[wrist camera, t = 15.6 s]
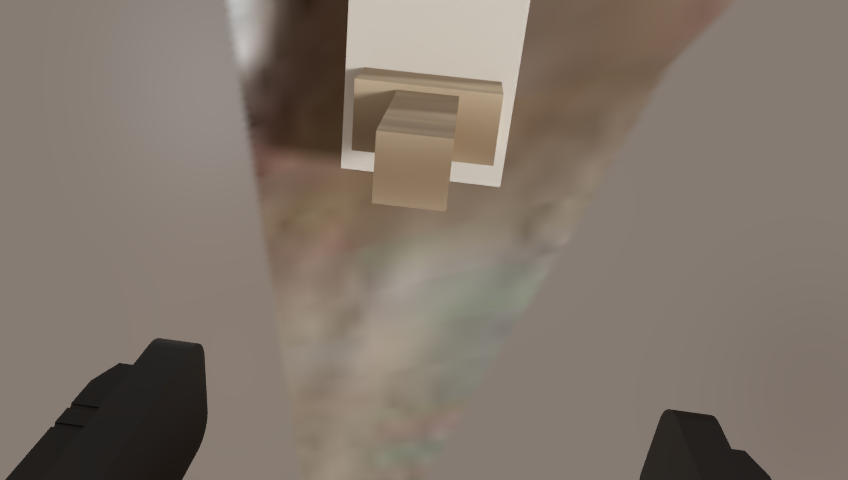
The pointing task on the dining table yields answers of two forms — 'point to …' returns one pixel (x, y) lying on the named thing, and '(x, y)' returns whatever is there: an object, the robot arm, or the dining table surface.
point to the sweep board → (437, 58)
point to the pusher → (422, 131)
